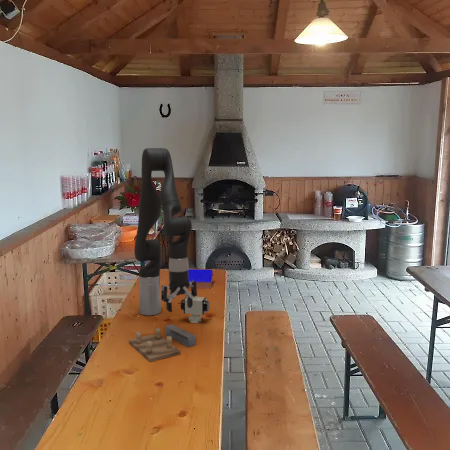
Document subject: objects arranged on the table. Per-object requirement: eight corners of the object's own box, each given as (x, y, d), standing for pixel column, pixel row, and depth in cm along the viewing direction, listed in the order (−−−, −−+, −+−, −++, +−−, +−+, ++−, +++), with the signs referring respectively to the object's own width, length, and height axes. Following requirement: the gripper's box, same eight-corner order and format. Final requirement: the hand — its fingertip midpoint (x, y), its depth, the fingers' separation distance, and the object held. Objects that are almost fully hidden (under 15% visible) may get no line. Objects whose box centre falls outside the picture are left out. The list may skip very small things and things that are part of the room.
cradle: (128, 342, 184) (128, 330, 184) (157, 336, 191) (157, 323, 190) (150, 361, 168) (149, 347, 167) (180, 354, 174) (180, 340, 173)
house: (176, 287, 259) (175, 266, 257) (213, 287, 258) (213, 266, 256) (172, 294, 247) (172, 272, 245) (211, 294, 246) (211, 272, 244)
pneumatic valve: (207, 325, 202) (206, 298, 200) (180, 323, 204) (180, 296, 203) (210, 321, 207) (210, 294, 206) (184, 319, 210) (183, 292, 208)
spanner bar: (165, 335, 192) (165, 326, 192) (172, 333, 194) (172, 324, 194) (188, 348, 180) (188, 337, 179) (195, 345, 182) (195, 335, 182)
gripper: (190, 264, 190) (191, 303, 192) (157, 269, 182) (158, 310, 185) (199, 268, 183) (200, 308, 186) (166, 273, 176) (167, 315, 178)
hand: (179, 309), depth 185 cm, fingers open, 8 cm apart
